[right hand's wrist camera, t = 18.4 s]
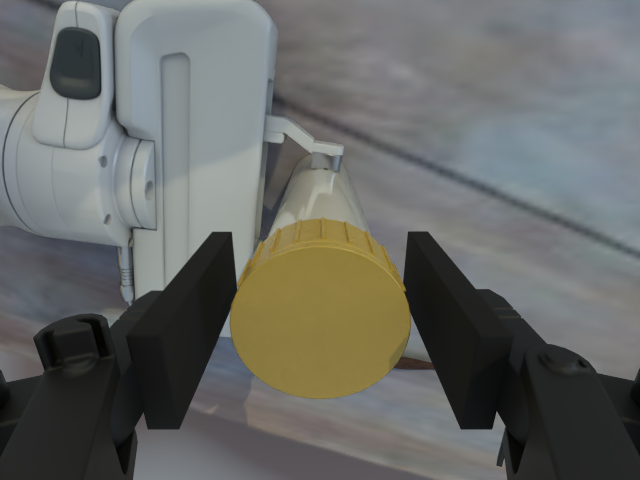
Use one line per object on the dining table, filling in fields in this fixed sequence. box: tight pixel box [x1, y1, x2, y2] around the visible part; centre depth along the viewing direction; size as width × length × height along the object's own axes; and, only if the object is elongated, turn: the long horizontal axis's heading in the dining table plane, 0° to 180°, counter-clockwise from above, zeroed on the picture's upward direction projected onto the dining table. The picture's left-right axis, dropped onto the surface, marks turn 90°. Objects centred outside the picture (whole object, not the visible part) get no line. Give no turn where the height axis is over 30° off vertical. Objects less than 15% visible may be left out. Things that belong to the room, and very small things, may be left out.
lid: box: [230, 217, 411, 399], centre depth 11 cm, size 5×5×2 cm
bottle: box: [267, 154, 373, 238], centre depth 20 cm, size 5×5×19 cm
